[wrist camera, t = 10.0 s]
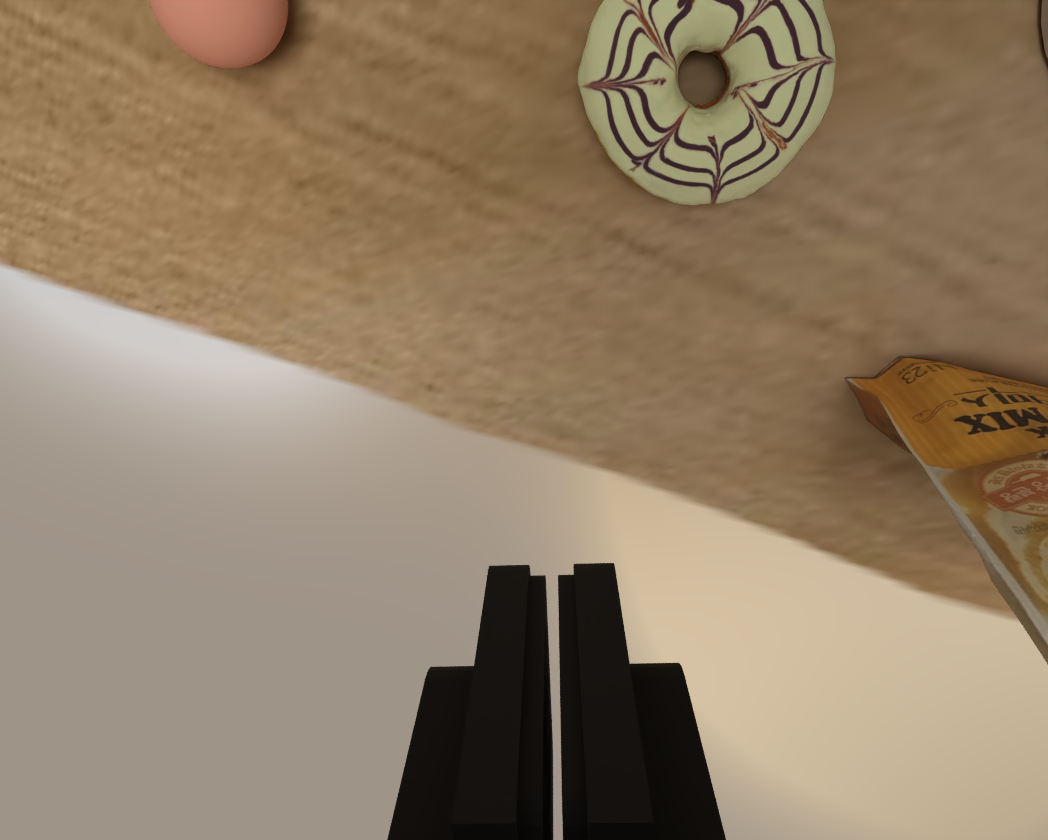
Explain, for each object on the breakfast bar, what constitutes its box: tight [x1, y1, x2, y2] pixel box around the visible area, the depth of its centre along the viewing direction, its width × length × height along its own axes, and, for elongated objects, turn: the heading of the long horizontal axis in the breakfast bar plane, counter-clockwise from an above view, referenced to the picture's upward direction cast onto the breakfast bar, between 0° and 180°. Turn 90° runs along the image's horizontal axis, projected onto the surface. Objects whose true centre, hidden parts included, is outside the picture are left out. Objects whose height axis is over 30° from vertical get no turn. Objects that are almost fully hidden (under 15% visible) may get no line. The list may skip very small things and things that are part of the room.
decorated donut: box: [577, 0, 836, 206], centre depth 32 cm, size 10×11×4 cm
